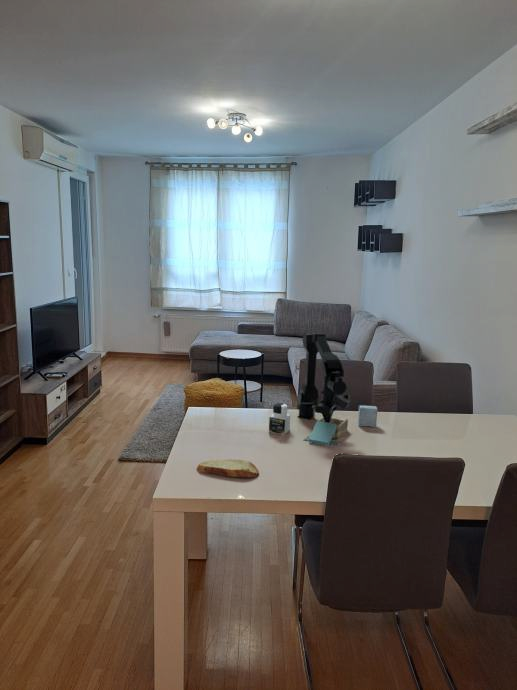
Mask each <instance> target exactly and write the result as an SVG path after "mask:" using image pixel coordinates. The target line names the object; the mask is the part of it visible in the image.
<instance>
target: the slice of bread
mask: <svg viewBox="0 0 517 690" xmlns="http://www.w3.org/2000/svg"><path fill="white" fill-rule="evenodd" d="M196 472H198V473H201V474H206V475H210V476H217V477H226V478H233V479H235V478H236V479H237V478H238V479H254V478H258V477H259V476H260V472H259V470H258V468H257V466H256V465H254V463H252V462H251V461H246V460H243V459H242V460H241V459H230V458H229V459H216V460H214V459H213V460H208V461H203V462H201V463H199V464H198V465H197V468H196Z"/></svg>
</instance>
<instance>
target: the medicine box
mask: <svg viewBox="0 0 517 690" xmlns="http://www.w3.org/2000/svg"><path fill="white" fill-rule="evenodd" d="M377 420H378V407H377V406H376V405H375V406H373V405H358V417H357V425H358V427H363V426H371V427H370V428H377Z"/></svg>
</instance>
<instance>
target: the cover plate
mask: <svg viewBox="0 0 517 690" xmlns="http://www.w3.org/2000/svg"><path fill="white" fill-rule="evenodd" d="M315 424H316V425H315ZM315 424H314V427H313V430H312V432H311V434H310V438H309V441H308V442H312V443H311V444H314V443H317V444H316V445H319V444H322V445H321V446H324V445H327V447H329V446H330V442H331V441H333V439H332V438H333V435H334V433H335V431H336V428H337V425H336V424H333V423H327V422H321V421H320V420H317V421H316V422H315Z"/></svg>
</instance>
